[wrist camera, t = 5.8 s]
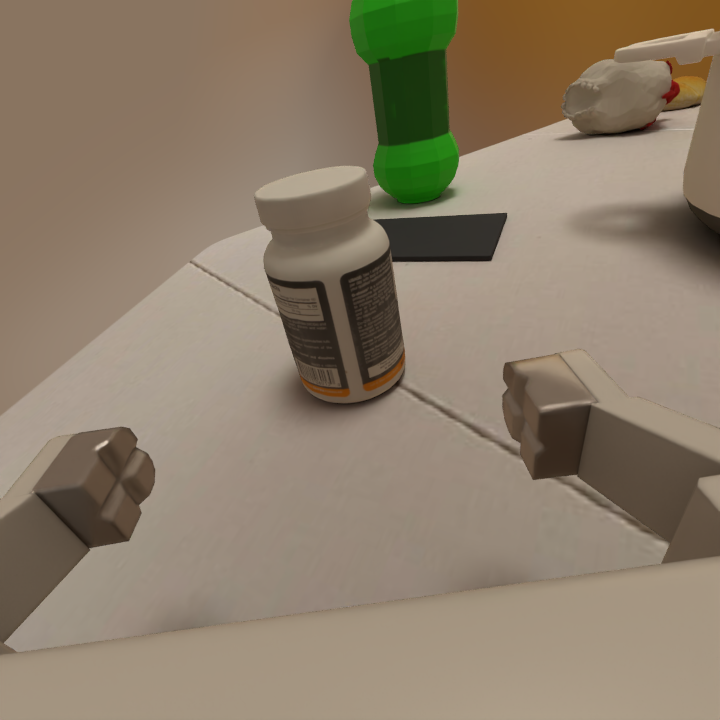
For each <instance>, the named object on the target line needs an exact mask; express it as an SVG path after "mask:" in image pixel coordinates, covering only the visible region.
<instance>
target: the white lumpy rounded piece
mask: <svg viewBox="0 0 720 720" xmlns="http://www.w3.org/2000/svg"><path fill="white" fill-rule="evenodd" d="M671 73H672V66H671V63H669V61H667V62H666V63H665V62H663V61H659V62H657V61H652V60H647V61H640V62H630V63H617V62H615V61H614V59H610V60H602V61H600V62H598V63H596V64H594V65H592V66H591V67H590V68H588V69H587V70H586V71H585V72H584V73H582V75H581V76H580V79H578V80H577V81H576V82H574V83H572V84H571V85H570V86H569V87H568V89H567V90H566V94H564V96H563V100H565V102H564V103H563V104H562V106H561V108H562V109H563V111H562V113H563V114H564V117H566V118H569V119H570V120H571V121H572V124H573V126H574V127H576V128H577V129H578V130H579V131H580V132H582V133H585V134H602V133H620V132H625V131H628V130H633V129H636V128H640V129H641V130H643V129H644V128H646V127H649V126H651V125H652V124H653V123H654V122H655V121H656V118H657V116H658V115H659V114H660V112H661V111H662V109H663V108H664V106H665V105H666V104H668V103H670V102H671V101H672V100H673V99H674V98H675V97H676V96H678V94H679V93H680V87H679V84H678V83H677V82H675V81H673V80H671Z"/></svg>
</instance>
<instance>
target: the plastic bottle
mask: <svg viewBox="0 0 720 720" xmlns="http://www.w3.org/2000/svg"><path fill="white" fill-rule="evenodd" d="M457 19H458V0H353V1H352V5H351V12H350V20H349V21H350V27H351V35H352V39H353V43H354V46H355V49H356V52H357V54H358V55H359V56H360V57H361V58H362V59H363V60H364V61H365V62H366V63H367V64H368V65H369V71H370V78H371V86H372V94H373V102H374V110H375V117H376V125H377V132H378V141H379V144H378V148H377V151H376V154H375V159H374V164H373V167H374V174H375V178H376V180H377V181H378V183H379V185H380V187H381V188H382V189H383V190H384V191H385V192H387V193H388V194H390V195H391V196H392V197H394V198H397V201H398V202H401V203H420V202H425V201H430V200H433V199H435V198H437V197H439V196H440V194H441V192H443V191H444V190H445V189H446V187H447V186H448V185H449V184H450V183H451V181H452V180H453V178H454V177H455V174H456V170H457V167H458V162H459V148H458V145H457V143H456V140H455V138H454V136H453V134H452V133H451V131H450V129H449V106H448V81H447V56H446V49H447V47H448V45H449V43H450V42H451V40H452V38H453V37H454V35H455V33H456V27H457Z"/></svg>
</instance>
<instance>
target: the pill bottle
mask: <svg viewBox="0 0 720 720" xmlns="http://www.w3.org/2000/svg"><path fill="white" fill-rule="evenodd" d="M254 198H255V202H256V206H257V209H258V213H259V217H260V220H261V223H262V224H263V225H264V226H265V227H266V228H267V230H269V231H271V234H272V238H273V239H272V240H271V241H270V243H269V244H268V246H267V248H266V250H265V253H264V269H265V272H266V274H267V278H268V281H269V283H270V286H271V289H272V292H273V295H274V298H275V301H276V304H277V307H278V310H279V313H280V316H281V319H282V322H283V326H284V329H285V332H286V335H287V339H288V341H289V345H290V348H291V350H292V354H293V357H294V360H295V363H296V365H297V368H298V371H299V375H300V378H301V380H302V383H303V385H304V386H305V388H306V389H307V390H308V391H309V392H310V393H311V394H312V395H314V396H315V397H317V398H319V399H322V400H324V401H328V402H333V403H354V402H360V401H364V400H367V399H370V398H373V397H375V396H378V395H380V394H381V393H383V392H385V391H386V390H388V389H389V388H390V387H392V386H393V385H394V384H395V383H396V382H397V381H398V380H399V378H400V376H401V375H402V373H403V370H404V368H405V350H404V342H403V336H402V330H401V323H400V316H399V309H398V301H397V292H396V285H395V278H394V271H393V264H392V257H391V250H390V243H389V239H388V236H387V234H386V232H385V230H384V229H383V228H382V226H381V225H380V224H378V223H377V222H376V221H374V220H372V219H370V218H369V217H368V214H367V209H368V208H369V203H370V201H371V193H370V187H369V182H368V177H367V173H366V170H365V169H364V168H361V167H357V166H338V167H331V168H323V169H318V170H312V171H308V172H304V173H299V174H296V175H292V176H289V177H285V178H282V179H279V180H277V181H274V182H271V183H269V184H267V185H265V186H263V187H261V188H260V189H258V190H257V191H256V193H255V194H254Z"/></svg>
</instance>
